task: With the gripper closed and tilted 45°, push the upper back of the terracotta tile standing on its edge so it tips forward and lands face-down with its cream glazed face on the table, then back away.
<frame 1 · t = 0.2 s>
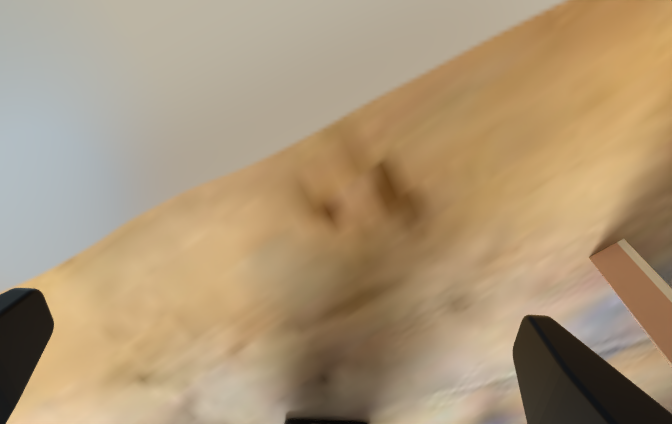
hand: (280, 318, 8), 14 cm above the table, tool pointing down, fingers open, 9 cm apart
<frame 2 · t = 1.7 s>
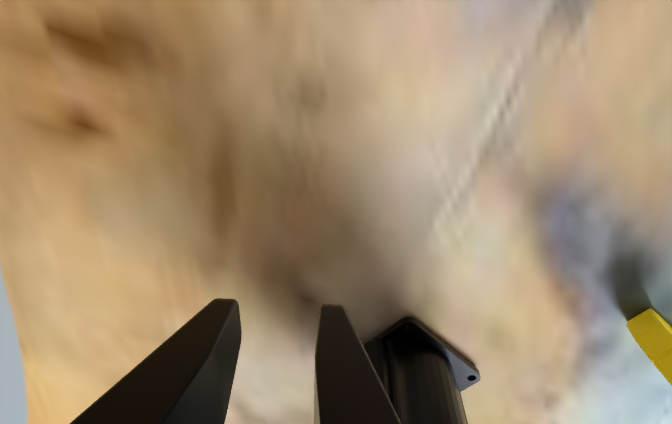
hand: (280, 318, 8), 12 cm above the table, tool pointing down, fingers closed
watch: (651, 325, 24), on the table
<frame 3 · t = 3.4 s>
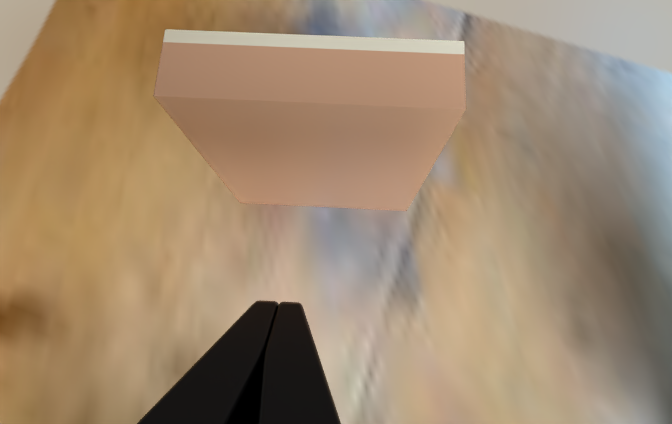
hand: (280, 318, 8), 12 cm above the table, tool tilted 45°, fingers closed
tile: (319, 145, 16), point 5 cm above the table
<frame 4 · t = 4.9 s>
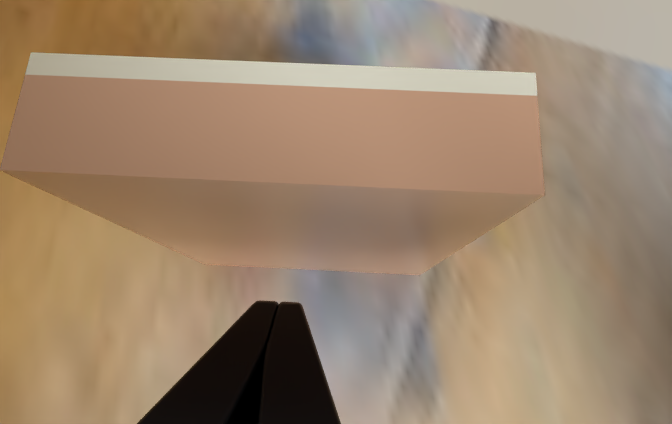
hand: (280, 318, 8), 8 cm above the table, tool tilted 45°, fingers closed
tile: (302, 207, 11), point 5 cm above the table
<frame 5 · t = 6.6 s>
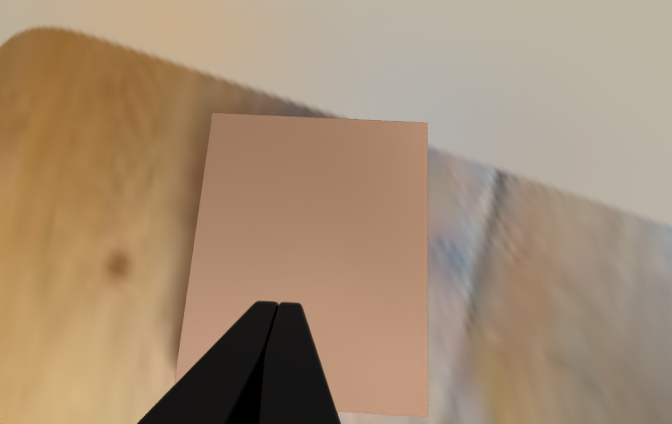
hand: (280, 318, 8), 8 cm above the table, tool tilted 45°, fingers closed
tile: (311, 255, 16), on the table, tilted 90°
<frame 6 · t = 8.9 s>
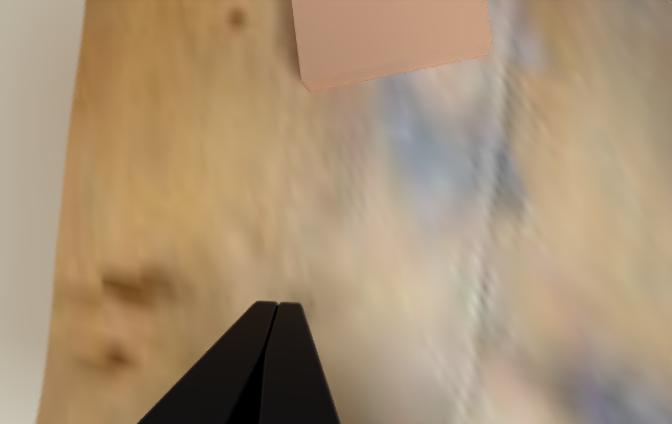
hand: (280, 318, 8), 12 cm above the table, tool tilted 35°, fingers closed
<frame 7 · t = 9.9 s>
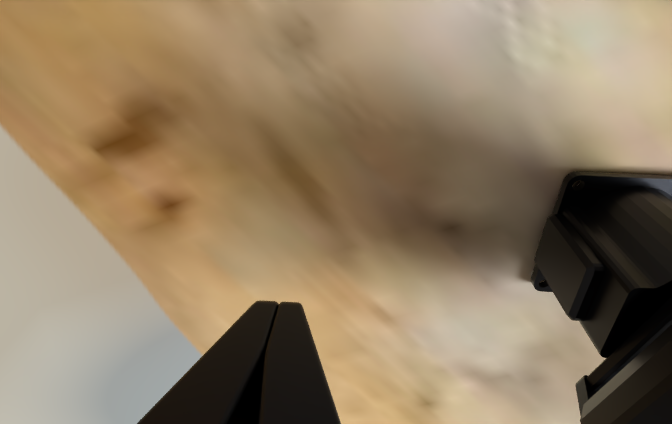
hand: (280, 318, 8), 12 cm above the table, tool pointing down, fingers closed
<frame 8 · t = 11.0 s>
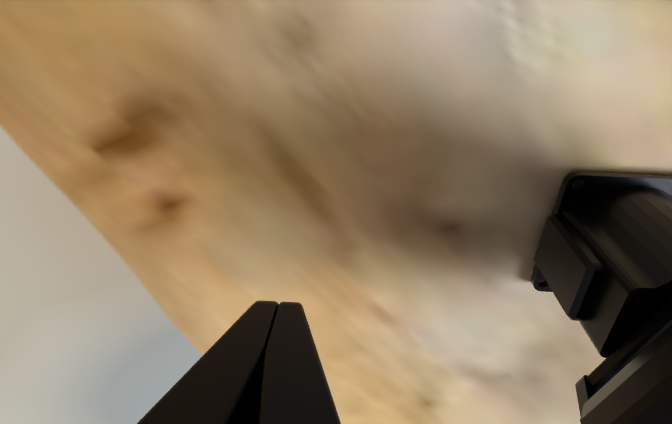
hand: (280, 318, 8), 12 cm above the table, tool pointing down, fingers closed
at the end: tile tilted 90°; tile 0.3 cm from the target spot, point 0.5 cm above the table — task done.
